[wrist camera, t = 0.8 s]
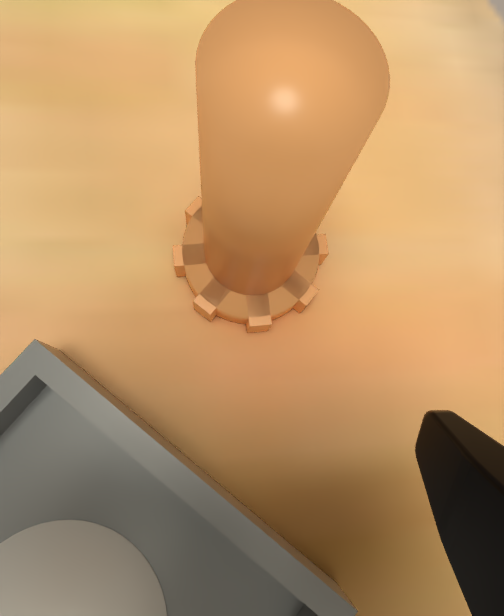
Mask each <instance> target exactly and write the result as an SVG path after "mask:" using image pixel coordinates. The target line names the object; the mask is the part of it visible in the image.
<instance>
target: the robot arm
mask: <svg viewBox="0 0 504 616" xmlns="http://www.w3.org/2000/svg"><path fill="white" fill-rule="evenodd" d="M415 453H416V458H417V462H418V465H419V468H420V472H421V475H422V479H423V482H424V485H425V489H426V492H427V495H428V499H429V502H430V505H431V509H432V512H433V515H434V519H435V522H436V525H437V529H438V532H439V535H440V538H441V541H442V543H443V546H444V549H445V551H446V554H447V556H448V559H449V561H450V563H451V566H452V568H453V571H454V573H455V576H456V578H457V580H458V583H459V585H460V588H461V590H462V592H463V595H464V597H465V600H466V602H467V604H468V607H469V609H470V612H471V614H472V616H504V446H503V445H501V444H500V443H498V442H497V441H495V440H494V439H492V438H491V437H489V436H488V435H486V434H485V433H483V432H482V431H480V430H479V429H478V428H476V427H475V426H473V425H472V424H470V423H469V422H467V421H466V420H464V419H463V418H461V417H460V416H458V415H457V414H455V413H454V412H452V411H449V410H431V411H428V412H426V414H425V415H424V418H423V421H422V424H421V428H420V431H419V435H418V438H417V441H416V447H415Z"/></svg>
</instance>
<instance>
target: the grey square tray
mask: <svg viewBox="0 0 504 616" xmlns="http://www.w3.org/2000/svg"><path fill="white" fill-rule="evenodd" d="M357 612H358V611H357V609H356V608H355V607H354V605H353V604H352V603H351V601H350V600H349V599H348V597H347V596H346V595H345V593H344V592H343V591H342V589H341V588H340V587H339V585H338V584H337V583H336V582H335V581H334V580H333V579H331V578H330V577H329V576H328V575H327V574H325V573H324V572H323V571H322V570H321V569H319V568H318V567H317V566H316V565H315V564H314V563H312V562H311V561H310V560H309V559H308V558H306V557H305V556H304V555H303V554H302V553H300V552H299V551H298V550H297V549H296V548H294V547H293V546H292V545H291V544H290V543H289V542H287V541H286V540H285V539H284V538H283V537H281V536H280V535H279V534H278V533H277V532H275V531H274V530H273V529H272V528H271V527H269V526H268V525H267V524H266V523H265V522H264V521H262V520H261V519H260V518H259V517H258V516H256V515H255V514H254V513H253V512H252V511H250V510H249V509H248V508H247V507H246V506H244V505H243V504H242V503H241V502H240V501H239V500H237V499H236V498H235V497H234V496H233V495H231V494H230V493H229V492H228V491H227V490H225V489H224V488H223V487H222V486H221V485H219V484H218V483H217V482H216V481H215V480H214V479H212V478H211V477H210V476H209V475H208V474H206V473H205V472H204V471H203V470H202V469H200V468H199V467H198V466H197V465H196V464H194V463H193V462H192V461H191V460H190V459H189V458H187V457H186V456H185V455H184V454H183V453H181V452H180V451H179V450H178V449H177V448H175V447H174V446H173V445H172V444H171V443H169V442H168V441H167V440H166V439H165V438H164V437H162V436H161V435H160V434H159V433H158V432H156V431H155V430H154V429H153V428H152V427H150V426H149V425H148V424H147V423H146V422H144V421H143V420H142V419H141V418H140V417H139V416H137V415H136V414H135V413H134V412H133V411H131V410H130V409H129V408H128V407H127V406H125V405H124V404H123V403H122V402H121V401H119V400H118V399H117V398H116V397H115V396H114V395H112V394H111V393H110V392H109V391H108V390H106V389H105V388H104V387H103V386H102V385H100V384H99V383H98V382H97V381H96V380H94V379H93V378H92V377H91V376H90V375H89V374H87V373H86V372H85V371H84V370H83V369H81V368H80V367H79V366H78V365H77V364H75V363H74V362H73V361H72V360H71V359H69V358H68V357H67V356H66V355H65V354H64V353H62V352H61V351H60V350H58V349H56V348H54V347H51V346H49V345H47V344H45V343H42V342H40V341H38V340H36V339H35V340H34V341H33V342H32V343H31V344H30V345H29V346H28V347H27V348H26V349H25V350H24V351H23V352H22V353H21V354H20V355H19V356H18V357H17V358H16V359H15V361H14V362H13V363H12V364H11V365H10V366H9V367H8V368H7V369H6V370H5V371H4V372H3V373H2V374H1V375H0V616H355V615H356V613H357Z"/></svg>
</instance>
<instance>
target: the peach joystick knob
mask: <svg viewBox="0 0 504 616" xmlns="http://www.w3.org/2000/svg"><path fill="white" fill-rule="evenodd" d="M195 67H196V91H197V112H198V133H199V154H200V175H201V196H202V198H201V197H200V196H198V197H197V198H196V199H195V200H194V201H193V202H192V204H191V205H190V206H189V207H188V208H187V209H186V210H185V214H186V222H187V227H186V230H185V233H184V237H183V244H182V245H173V256H174V267H175V271H176V275H177V277H180V276H186V277H187V281H188V283H189V286H190V288H191V290H192V292H193V293H194V295H195V296H196V298H195V299H194V300H193V304H194V309H195V310H196V311H197V312H199V313H200V314H201V315H202V316H204V317H205V318H206V319H207V320H209V321H210V322H211V321H212V320H213V318H214V317H215V316H216V315H217V316H219V317H221V318H223V319H226V320H229V321H232V322H236V323H242V324H246V328H247V333H251V332H262V331H268V330H269V328H270V326H271V325H272V322H271V320H274V319H276V318H278V317H281V316H282V315H284V314H286V313H287V312H288V311H290V310H291V309H292V308H294V309H295V310H296V311H297V312H299V313H301V312H302V311H303V309H304V308H305V307H306V306H307V305H308V303H309V302H310V301H311V299H312V298H313V297H314V296H315V294H316V293H317V292H318V291H319V289H318V288H317V287H315V286H314V285H313V284H312V282H313V280H314V278H315V275H316V272H317V270H318V265H321V264H322V262H323V261H324V259H325V258H326V257H327V255H328V254H329V253H328V247H327V241H326V234H317V235H316V231H317V229H318V227H319V225H320V224H321V222H322V220H323V218H324V216H325V215H326V213H327V211H328V209H329V207H330V206H331V204H332V202H333V200H334V199H335V197H336V195H337V193H338V191H339V190H340V188H341V186H342V184H343V182H344V181H345V179H346V177H347V175H348V173H349V172H350V170H351V168H352V166H353V165H354V163H355V161H356V159H357V157H358V156H359V154H360V152H361V150H362V148H363V147H364V145H365V143H366V141H367V139H368V138H369V136H370V134H371V132H372V131H373V129H374V127H375V125H376V123H377V122H378V120H379V118H380V116H381V114H382V112H383V110H384V108H385V105H386V102H387V99H388V94H389V88H390V74H389V67H388V63H387V59H386V56H385V53H384V51H383V49H382V46H381V44H380V43H379V41H378V39H377V38H376V36H375V35H374V33H373V32H372V31H371V29H370V28H369V27H368V26H367V25H366V24H365V23H364V22H363V21H362V20H361V19H360V18H359V17H358V16H357V15H355V14H354V13H353V12H352V11H350V10H349V9H347V8H346V7H344V6H343V5H341V4H339V3H337V2H335V1H333V0H236V1H234V2H233V3H231V4H229V5H228V6H226V7H225V8H224V9H223V10H221V11H220V12H219V13H218V14H217V15H216V16H215V17H214V18H213V19H212V20H211V22H210V23H209V25H208V26H207V27H206V29H205V30H204V33H203V35H202V37H201V39H200V42H199V45H198V48H197V53H196V61H195Z"/></svg>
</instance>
